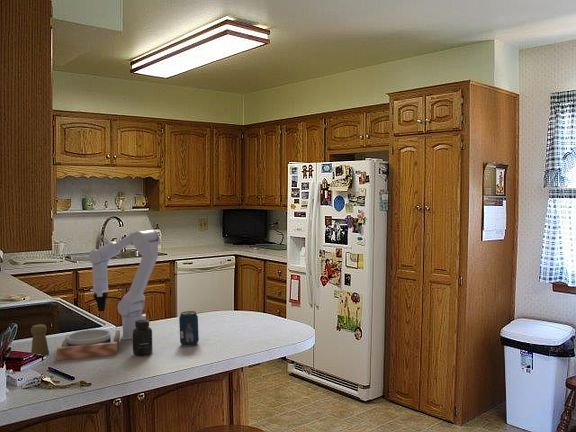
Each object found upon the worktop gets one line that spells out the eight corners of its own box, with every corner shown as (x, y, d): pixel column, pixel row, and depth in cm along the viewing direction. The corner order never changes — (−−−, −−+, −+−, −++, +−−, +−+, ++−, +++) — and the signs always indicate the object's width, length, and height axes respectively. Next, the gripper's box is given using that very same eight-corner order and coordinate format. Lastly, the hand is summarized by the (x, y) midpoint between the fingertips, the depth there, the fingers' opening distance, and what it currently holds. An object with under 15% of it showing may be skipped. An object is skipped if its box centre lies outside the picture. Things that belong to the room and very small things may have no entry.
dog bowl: (117, 350, 203) (116, 334, 202) (74, 359, 193) (73, 342, 193) (103, 342, 215) (102, 327, 214) (62, 350, 205) (61, 334, 205)
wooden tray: (119, 334, 224) (119, 325, 224) (117, 354, 197) (116, 343, 197) (67, 339, 219) (67, 329, 219) (57, 360, 192) (56, 348, 192)
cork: (42, 357, 195) (40, 327, 195) (27, 357, 197) (25, 326, 196) (52, 352, 201) (51, 323, 201) (38, 352, 203) (36, 322, 202)
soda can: (191, 340, 213) (190, 309, 212) (202, 343, 208) (201, 312, 207) (176, 344, 208) (175, 313, 207) (187, 347, 203) (185, 315, 202)
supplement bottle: (142, 358, 192) (141, 324, 191) (129, 355, 196) (127, 321, 195) (157, 352, 198) (155, 319, 197) (143, 350, 201) (142, 317, 201)
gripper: (91, 276, 232) (92, 308, 233) (88, 281, 218) (89, 315, 219) (109, 275, 234) (110, 306, 235) (107, 280, 220) (108, 314, 221)
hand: (101, 311), depth 227 cm, fingers closed
